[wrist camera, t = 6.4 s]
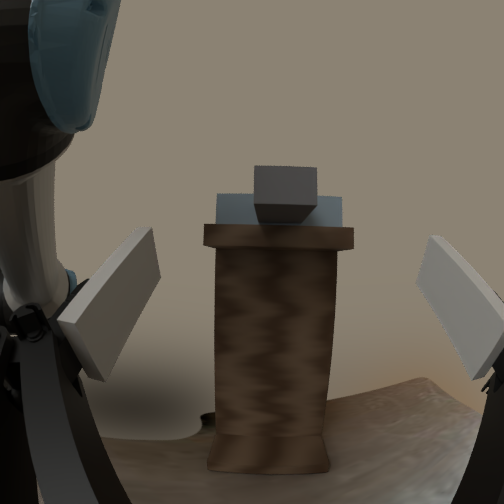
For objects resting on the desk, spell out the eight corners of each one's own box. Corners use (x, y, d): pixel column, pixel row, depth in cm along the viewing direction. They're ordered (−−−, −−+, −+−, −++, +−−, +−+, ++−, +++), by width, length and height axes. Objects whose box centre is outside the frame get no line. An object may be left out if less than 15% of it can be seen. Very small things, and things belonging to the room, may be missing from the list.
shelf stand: (207, 469, 26) (204, 223, 26) (219, 432, 35) (219, 233, 35) (327, 472, 25) (353, 227, 26) (317, 434, 34) (332, 235, 35)
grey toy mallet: (190, 207, 18) (193, 163, 18) (227, 232, 35) (228, 208, 35) (376, 212, 17) (373, 168, 17) (325, 235, 34) (325, 210, 34)
